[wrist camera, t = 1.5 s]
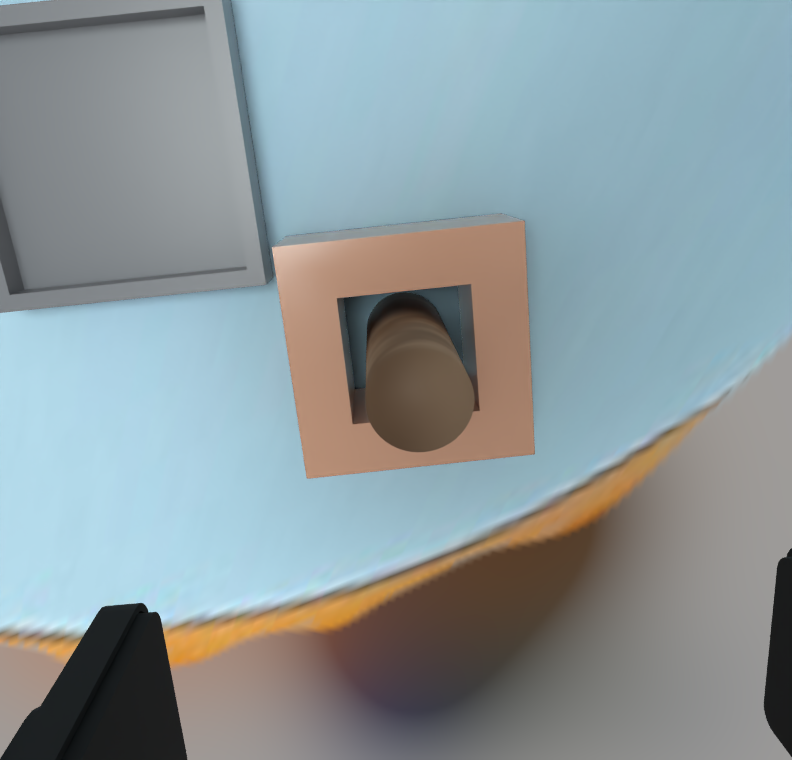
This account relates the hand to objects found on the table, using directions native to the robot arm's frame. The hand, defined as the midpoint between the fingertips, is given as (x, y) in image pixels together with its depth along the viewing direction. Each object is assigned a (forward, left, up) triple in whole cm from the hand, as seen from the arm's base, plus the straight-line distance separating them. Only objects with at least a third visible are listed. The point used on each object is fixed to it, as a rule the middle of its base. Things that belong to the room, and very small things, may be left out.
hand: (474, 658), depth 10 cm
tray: (+13, -9, -27) cm, 31 cm away
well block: (0, +1, -27) cm, 27 cm away
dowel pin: (0, +1, -27) cm, 27 cm away
